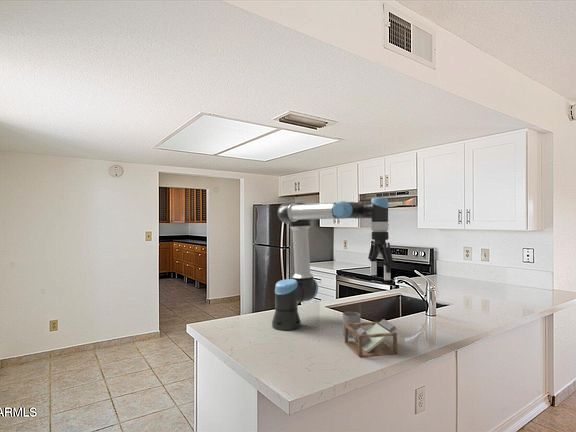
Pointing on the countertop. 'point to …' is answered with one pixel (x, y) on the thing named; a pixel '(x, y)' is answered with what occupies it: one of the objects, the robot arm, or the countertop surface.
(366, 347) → the trapdoor
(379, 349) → the frame
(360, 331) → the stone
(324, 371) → the countertop surface
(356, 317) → the cup
